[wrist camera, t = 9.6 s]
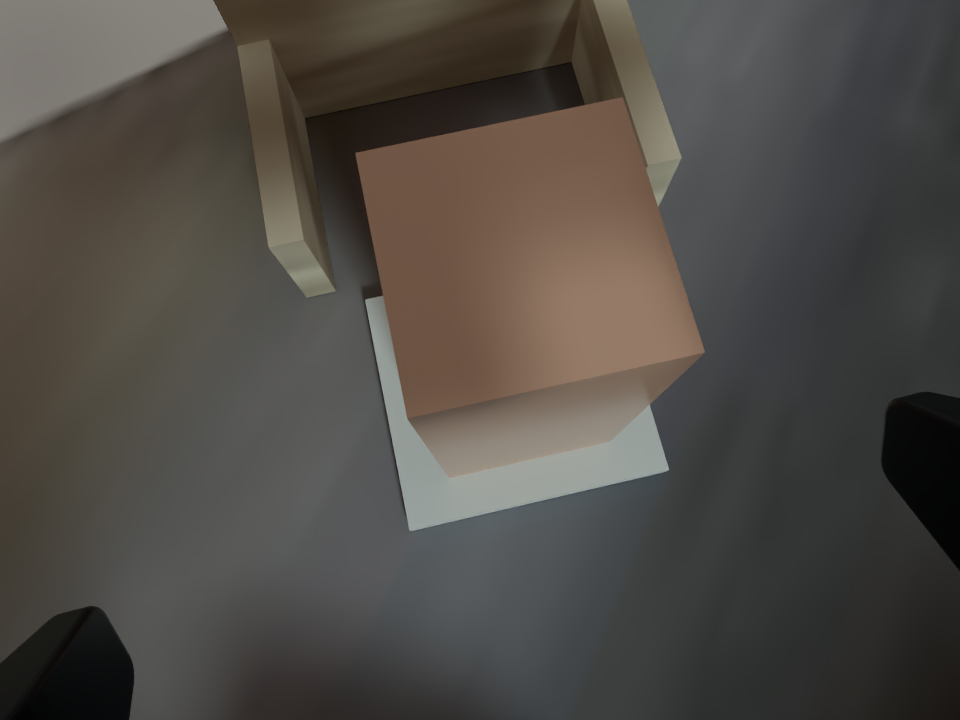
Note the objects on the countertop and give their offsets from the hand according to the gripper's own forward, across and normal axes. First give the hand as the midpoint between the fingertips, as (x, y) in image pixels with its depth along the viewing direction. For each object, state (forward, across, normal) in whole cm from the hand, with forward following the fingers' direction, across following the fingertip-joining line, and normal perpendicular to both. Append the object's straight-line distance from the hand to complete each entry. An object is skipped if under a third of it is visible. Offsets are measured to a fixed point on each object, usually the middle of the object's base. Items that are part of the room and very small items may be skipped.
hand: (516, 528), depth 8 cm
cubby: (+18, -2, 0) cm, 18 cm away
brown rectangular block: (+13, -2, +5) cm, 14 cm away
